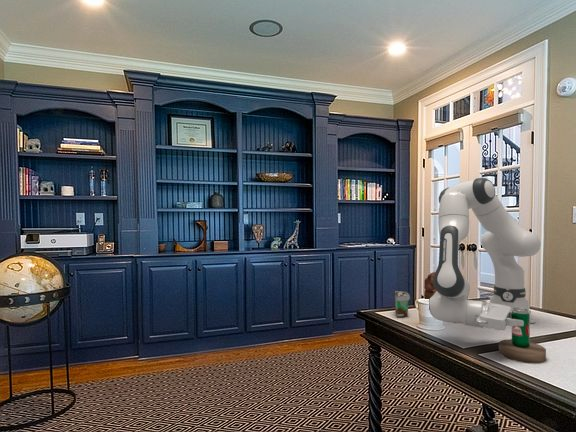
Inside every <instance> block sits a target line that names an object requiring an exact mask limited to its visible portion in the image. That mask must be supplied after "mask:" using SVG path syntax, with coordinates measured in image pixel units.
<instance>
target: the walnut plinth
mask: <svg viewBox="0 0 576 432" xmlns="http://www.w3.org/2000/svg"><path fill="white" fill-rule="evenodd" d="M498 353H499V355H500V356H502V357H504V358H506V359H509V360H510V361H511V360H512V361H515V362H521V363H527V364H542V363H544V362H546V361H547V349H546V348H545V347H544V346H543V345H540V344H538V343H536V342H531V341H530V346H529V347H527V348H522V347H517V346H514V345H513V344H512V338H511V339H509V338H508V339H501V340H499V342H498Z"/></svg>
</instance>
